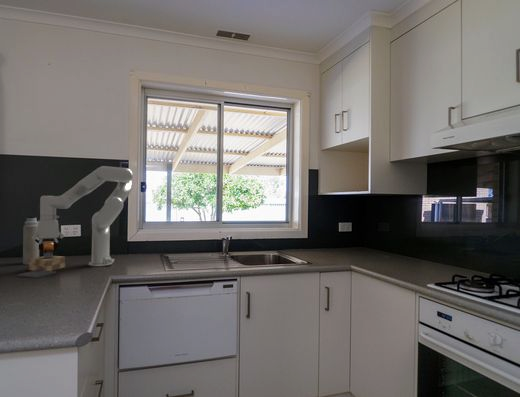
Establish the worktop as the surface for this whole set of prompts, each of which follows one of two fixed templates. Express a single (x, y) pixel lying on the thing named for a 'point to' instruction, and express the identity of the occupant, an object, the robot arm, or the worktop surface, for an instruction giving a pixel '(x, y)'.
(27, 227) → the thermos bottle
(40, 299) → the worktop surface
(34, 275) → the mat
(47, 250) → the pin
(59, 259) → the eye block
